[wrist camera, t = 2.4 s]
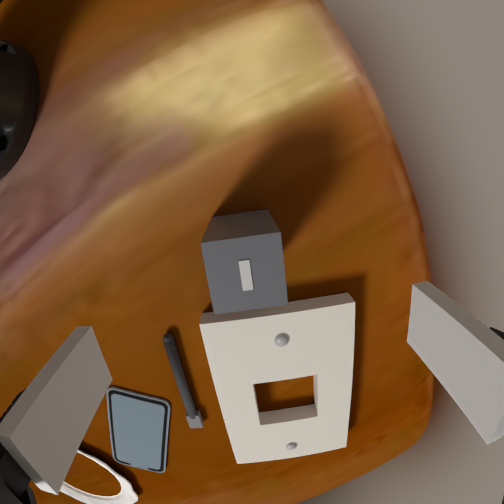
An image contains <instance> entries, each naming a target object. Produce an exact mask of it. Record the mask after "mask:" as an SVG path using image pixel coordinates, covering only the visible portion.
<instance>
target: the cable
mask: <svg viewBox="0 0 504 504" xmlns="http://www.w3.org/2000/svg"><path fill="white" fill-rule="evenodd" d="M163 342H164V345H165V348H166V352H167V355H168V358H169V361H170V364H171V367H172V370H173V373H174V376H175V379H176V382H177V385H178V388H179V391H180V394H181V397H182V400H183V402H184V405H185V408H186V411H187V412H186V418H187V421H188V423H189V426H190V428H203V420H202V417H201V414H200V411H199V410H196V408H195V405H194V402H193V399H192V396H191V393H190V390H189V387H188V384H187V381H186V378H185V375H184V372H183V368H182V365H181V362H180V358H179V355H178V352H177V348H176V345H175V341H174V338H173V336H172V335H171V334H169V333H167V334H165V335H164V336H163Z"/></svg>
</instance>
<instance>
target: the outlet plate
mask: <svg viewBox="0 0 504 504" xmlns="http://www.w3.org/2000/svg"><path fill="white" fill-rule="evenodd" d="M199 325H200V329H201V333H202V337H203V342H204V346H205V350H206V354H207V358H208V362H209V366H210V370H211V374H212V378H213V381H214V385H215V389H216V393H217V396H218V400H219V404H220V407H221V411H222V414H223V418H224V422H225V425H226V428H227V432H228V435H229V439H230V442H231V445H232V449H233V452H234V455H235V458H236V461H237V464H241V463H252V462H262V461H270V460H278V459H285V458H292V457H298V456H304V455H310V454H315V453H320V452H325V451H330V450H335V449H339V448H344V447H346V442H347V434H348V424H349V415H350V404H351V391H352V377H353V360H354V336H355V301H354V300H353V298H352V297H351V296H350V295H349V293H348V292H347V293H341V294H336V295H330V296H323V297H317V298H311V299H305V300H298V301H291V302H288V305H282V306H275V307H268V308H261V309H253V310H246V311H238V312H230V313H222V314H214V312H208V313H202V315H201V319H200V324H199ZM311 375H313V376H314V404H311V405H306V406H300V407H294V408H287V409H281V410H274V411H266V412H259V409H258V404H257V398H256V392H255V386H254V384H258V383H265V382H273V381H280V380H286V379H293V378H299V377H305V376H311Z"/></svg>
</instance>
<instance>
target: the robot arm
mask: <svg viewBox="0 0 504 504" xmlns="http://www.w3.org/2000/svg"><path fill="white" fill-rule="evenodd" d="M2 1H3V0H0V3H1V2H2ZM38 93H39V85H38V75H37V70H36V66H35V63H34V61H33V59H32V57H31V55H30V54H29V53H28V52H27V51H26V50H25V49H24V48H22V47H21V46H18V45H16V44H13V43H11V42H8V41H4V40H0V179H2V178H3V177H4V176H5V175H6V174H7V173H8V172H9V171H10V170H11V169H12V167H13V166H14V165H15V163H16V162H17V160H18V159H19V157H20V155H21V154H22V152H23V150H24V148H25V146H26V143H27V141H28V138H29V136H30V133H31V130H32V127H33V123H34V120H35V115H36V110H37V104H38ZM407 342H408V343H409V345H410V346H411V347H412V348H413V349H414V351H415V352H416V353H417V354H418V355H419V357H420V358H421V359H422V360H423V362H424V363H425V364H426V365H427V366H428V368H429V369H430V370H431V371H432V373H433V374H434V375H435V376H436V378H437V379H438V380H439V381H440V383H441V384H442V385H443V386H444V388H445V389H446V390H447V392H448V393H449V394H450V395H451V397H452V398H453V399H454V401H455V402H456V403H457V404H458V406H459V407H460V408H461V410H462V411H463V412H464V414H465V415H466V416H467V418H468V419H469V420H470V422H471V423H472V424H473V426H474V427H475V428H476V430H477V431H478V433H479V434H480V435H481V437H482V438H483V439H484V441H485V442H486V444H487V445H488V444H490V443H492V442H494V441H495V440H497V439H498V438H500V437H502V436H504V332H501V331H499V330H497V329H494V328H492V327H491V328H488V327H487V326H486V325H484V324H483V323H482V322H481V321H480V320H478V319H477V318H475V317H474V316H473V315H472V314H471V313H469V312H468V311H467V310H465V309H464V308H463V307H461V306H460V305H459V304H458V303H456V302H455V301H454V300H452V299H451V298H450V297H448V296H447V295H446V294H444V293H443V292H442V291H440V290H439V289H438V288H436V287H435V286H433V285H432V284H431V283H429V282H428V281H426V282H421V283H416V284H412V296H411V309H410V319H409V328H408V337H407ZM111 381H112V377H111V374H110V372H109V370H108V367H107V365H106V363H105V360H104V358H103V355H102V353H101V350H100V347H99V345H98V342H97V340H96V337H95V334H94V331H93V329H92V326H83V327H76V329H75V330H74V331H73V332H72V333H71V334H70V336H69V337H68V338H67V339H66V340H65V341H64V343H63V344H62V345H61V346H60V347H59V349H58V350H57V351H56V352H55V353H54V355H53V356H52V357H51V358H50V359H49V361H48V362H47V363H46V364H45V366H44V367H43V368H42V369H41V370H40V372H39V373H38V374H37V375H36V377H35V378H34V379H33V381H32V382H31V383H30V384H29V386H28V387H27V388H26V389H24V390H23V391H22V392H21V393H19V394H18V395H17V397H16V398H15V399H14V401H13V402H12V405H10V406H9V407H8V408H7V412H4V414H3V415H2V417H1V418H0V504H37V502H36V499H35V496H34V493H33V491H32V489H31V488H30V487H29V486H28V484H29V482H30V480H32V481H33V482H34V483H35V484H36V485H37V486H38V487H39V488H40V489H41V490H43V491H46V492H50V493H53V494H56V495H58V493H59V491H60V489H61V486H62V484H63V482H64V479H65V477H66V475H67V472H68V470H69V468H70V466H71V463H72V461H73V459H74V457H75V455H76V452H77V450H78V448H79V446H80V444H81V442H82V440H83V437H84V435H85V433H86V431H87V429H88V427H89V425H90V423H91V421H92V419H93V417H94V415H95V412H96V410H97V408H98V406H99V404H100V402H101V400H102V398H103V396H104V394H105V392H106V390H107V389H108V387H109V385H110V383H111ZM502 504H504V497H503V501H502Z"/></svg>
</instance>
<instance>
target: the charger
mask: <svg viewBox="0 0 504 504" xmlns="http://www.w3.org/2000/svg"><path fill="white" fill-rule="evenodd" d="M201 248H202V253H203V259H204V264H205V270H206V275H207V280H208V286H209V291H210V296H211V301H212V306H213V311H214V314H222V313H230V312H238V311H246V310H253V309H261V308H268V307H275V306H282V305H288V298H287V288H286V277H285V267H284V257H283V248H282V238H281V232H280V230H279V228H278V226H277V225H276V223H275V221H274V219H273V218H272V216H271V214H270V213H269V211H268V209H265V210H257V211H250V212H243V213H235V214H228V215H221V216H214V217H212V218H211V220H210V223H209V225H208V227H207V230H206V232H205V234H204V236H203V239H202V241H201Z"/></svg>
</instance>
